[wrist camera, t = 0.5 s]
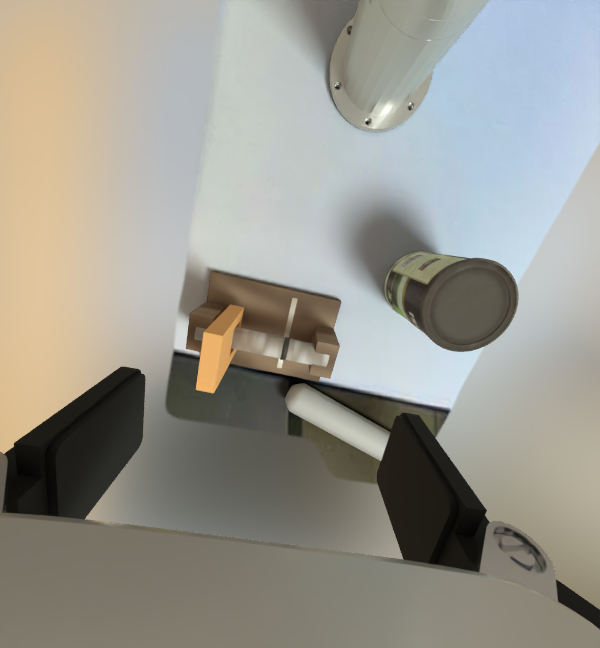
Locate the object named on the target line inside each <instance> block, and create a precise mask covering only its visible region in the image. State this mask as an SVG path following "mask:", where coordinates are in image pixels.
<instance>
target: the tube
mask: <svg viewBox="0 0 600 648" xmlns="http://www.w3.org/2000/svg"><path fill="white" fill-rule="evenodd" d="M285 401H286V405H287V407H288V409H289V411H290V412H292V413H294V414H296V415H298V416H299V417H301V418H303V419H305V420H307V421H308V422H310V423H312V424H314V425H316V426H318V427H319V428H321V429H323V430H325V431H327V432H329V433H330V434H332V435H334V436H336V437H338V438H340V439H341V440H343V441H345V442H347V443H349V444H351V445H352V446H354V447H356V448H358V449H360V450H362V451H363V452H365V453H367V454H369V455H371V456H372V457H374V458H376V459H378V460H380V461H381V460H382V457H383V454H384V451H385V448H386V445H387V442H388V439H389V435H390V432H389V431H387V430H385V429H384V428H382V427H380V426H378V425H377V424H375V423H373V422H371V421H370V420H368V419H366V418H364V417H363V416H361V415H359V414H357V413H356V412H354V411H352V410H350V409H349V408H347V407H345V406H343V405H342V404H340V403H338V402H336V401H335V400H333V399H331V398H329V397H328V396H326V395H324V394H322V393H321V392H319V391H317V390H315V389H314V388H312V387H310V386H308V385H307V384H305V383H301V384H295V385H292V387H291V388H290V390H289V391H288V393H287V395H286V398H285Z"/></svg>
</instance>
